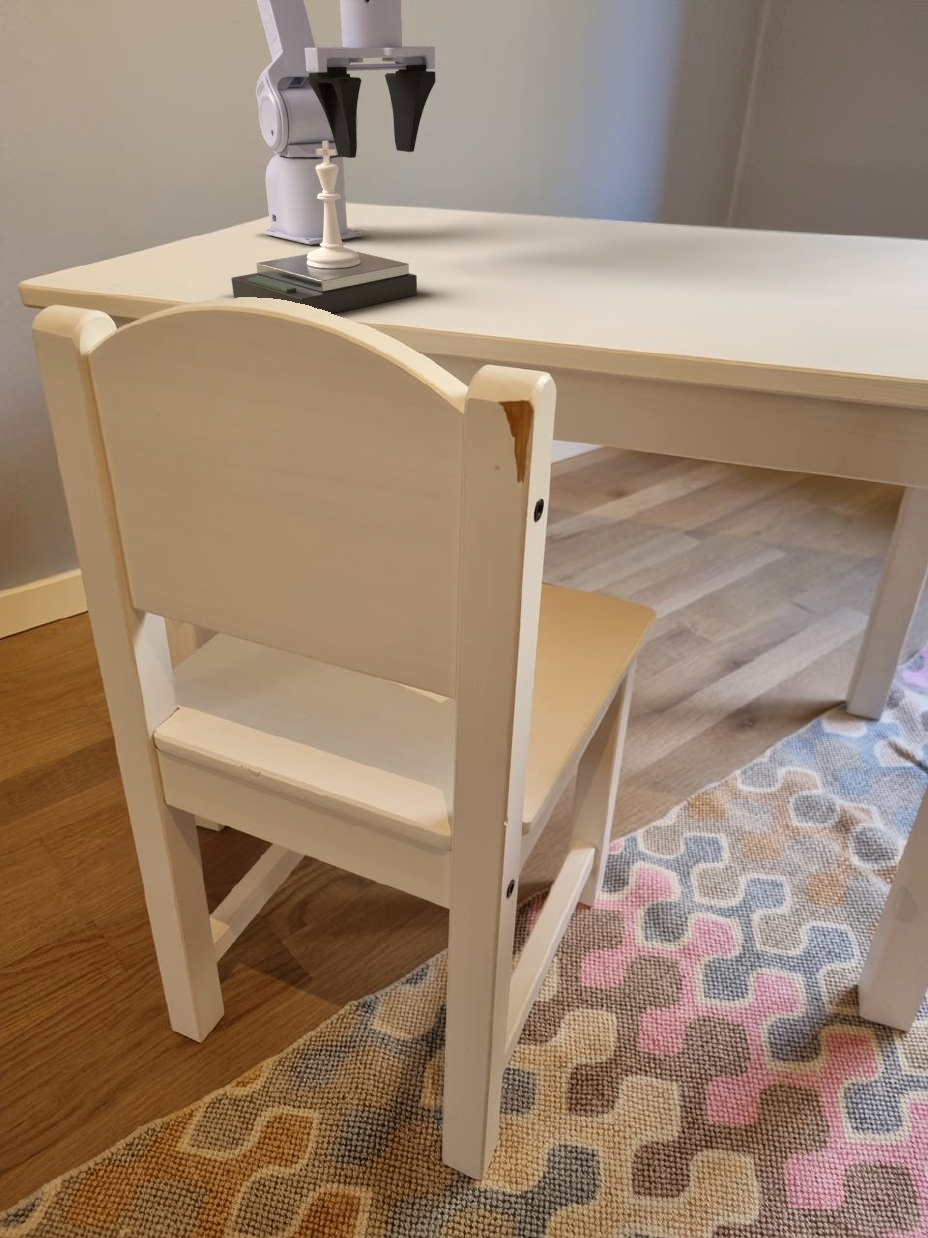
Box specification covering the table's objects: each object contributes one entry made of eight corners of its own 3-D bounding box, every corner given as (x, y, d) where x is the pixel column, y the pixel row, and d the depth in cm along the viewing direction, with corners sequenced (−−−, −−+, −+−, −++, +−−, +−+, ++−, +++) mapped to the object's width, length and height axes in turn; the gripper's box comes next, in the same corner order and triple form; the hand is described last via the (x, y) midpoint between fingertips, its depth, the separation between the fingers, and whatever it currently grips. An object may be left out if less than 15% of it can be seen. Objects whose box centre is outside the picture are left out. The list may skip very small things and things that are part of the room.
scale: (233, 297, 85) (230, 273, 84) (344, 275, 93) (342, 253, 92) (304, 320, 79) (302, 294, 77) (417, 294, 86) (416, 271, 85)
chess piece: (351, 269, 82) (343, 144, 77) (298, 267, 83) (287, 143, 78) (367, 258, 86) (361, 138, 81) (317, 256, 87) (307, 137, 82)
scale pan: (257, 273, 85) (255, 262, 85) (342, 258, 91) (341, 247, 91) (322, 292, 79) (321, 280, 79) (409, 274, 85) (409, 263, 85)
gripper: (333, -12, 79) (344, 163, 87) (456, -8, 88) (455, 151, 95) (286, -11, 83) (300, 156, 91) (407, -7, 92) (410, 145, 99)
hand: (376, 153), depth 93 cm, fingers open, 7 cm apart
